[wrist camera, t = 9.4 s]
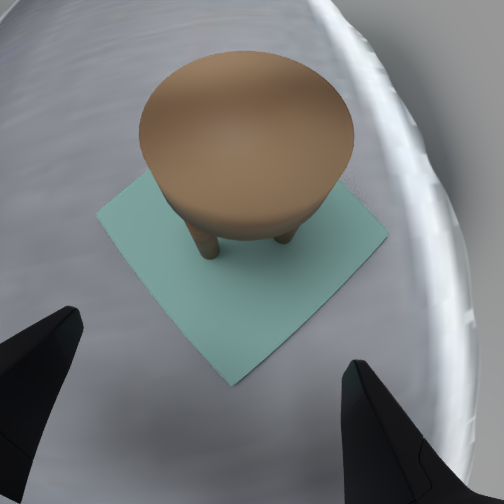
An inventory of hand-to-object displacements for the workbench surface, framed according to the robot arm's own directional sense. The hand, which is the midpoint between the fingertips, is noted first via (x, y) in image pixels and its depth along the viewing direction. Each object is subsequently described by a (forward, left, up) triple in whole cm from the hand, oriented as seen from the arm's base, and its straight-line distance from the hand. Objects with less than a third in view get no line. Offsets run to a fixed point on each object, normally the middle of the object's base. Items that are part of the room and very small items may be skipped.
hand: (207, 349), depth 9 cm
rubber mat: (+5, -6, -9) cm, 11 cm away
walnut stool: (+4, -5, -8) cm, 11 cm away
